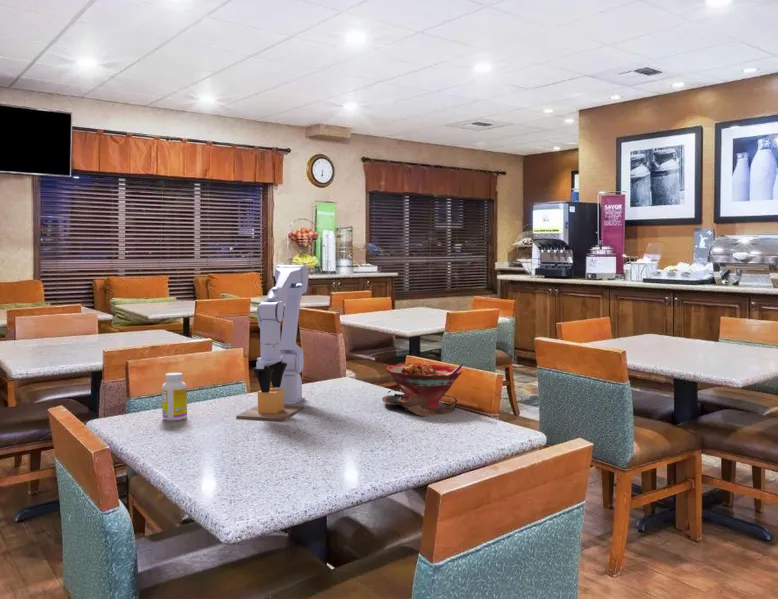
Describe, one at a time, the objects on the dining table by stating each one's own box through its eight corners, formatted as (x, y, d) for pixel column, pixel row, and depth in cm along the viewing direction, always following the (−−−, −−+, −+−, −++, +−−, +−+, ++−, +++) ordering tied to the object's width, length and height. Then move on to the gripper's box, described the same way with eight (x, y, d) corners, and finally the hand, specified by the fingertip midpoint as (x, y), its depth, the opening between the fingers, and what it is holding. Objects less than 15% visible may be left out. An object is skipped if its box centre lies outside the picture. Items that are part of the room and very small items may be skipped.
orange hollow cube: (266, 408, 195) (266, 388, 195) (283, 409, 194) (283, 389, 193) (257, 412, 190) (257, 391, 189) (275, 413, 188) (275, 392, 188)
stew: (486, 411, 196) (486, 358, 195) (424, 423, 182) (424, 365, 181) (426, 396, 219) (426, 348, 218) (366, 405, 204) (366, 354, 203)
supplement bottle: (190, 416, 189) (190, 372, 189) (181, 421, 183) (180, 376, 182) (168, 415, 190) (167, 371, 189) (158, 421, 183) (157, 375, 183)
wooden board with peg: (261, 407, 201) (260, 389, 201) (303, 409, 198) (303, 391, 198) (236, 419, 186) (235, 399, 186) (282, 422, 182) (281, 402, 182)
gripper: (268, 339, 199) (268, 384, 200) (246, 346, 185) (246, 393, 186) (290, 340, 197) (290, 385, 198) (269, 346, 183) (269, 395, 184)
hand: (270, 389), depth 192 cm, fingers open, 7 cm apart
